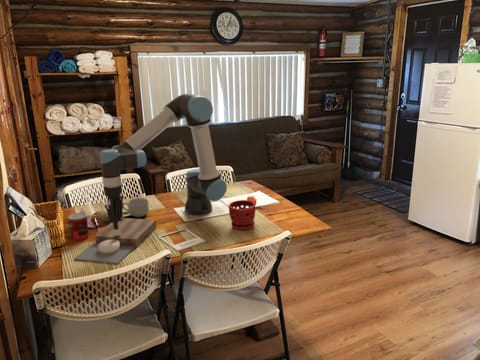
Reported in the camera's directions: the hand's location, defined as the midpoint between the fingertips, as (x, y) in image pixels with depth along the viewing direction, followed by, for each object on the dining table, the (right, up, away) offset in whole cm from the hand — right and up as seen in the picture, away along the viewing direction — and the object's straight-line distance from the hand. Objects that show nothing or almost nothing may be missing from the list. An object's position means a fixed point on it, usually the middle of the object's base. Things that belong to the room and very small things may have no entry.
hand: (118, 234), depth 176 cm
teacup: (-1, +6, +35) cm, 35 cm away
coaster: (-2, -6, -5) cm, 8 cm away
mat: (-3, -7, -8) cm, 11 cm away
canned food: (-20, -3, +8) cm, 22 cm away
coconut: (-17, +2, +25) cm, 30 cm away
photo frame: (+28, -4, +5) cm, 29 cm away
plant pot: (+56, +1, +20) cm, 59 cm away
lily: (-22, 0, +17) cm, 28 cm away
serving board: (+1, -2, +10) cm, 10 cm away
